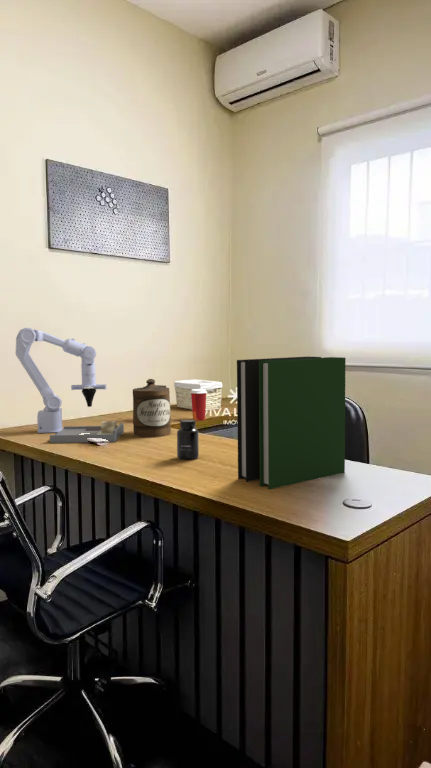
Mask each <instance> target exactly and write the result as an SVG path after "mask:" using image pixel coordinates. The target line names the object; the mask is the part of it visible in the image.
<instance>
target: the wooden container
mask: <svg viewBox="0 0 431 768" xmlns="http://www.w3.org/2000/svg"><path fill="white" fill-rule="evenodd" d="M155 383H156V380H155V379H154V378H148V379H146V385H145V386H142V387H137V388H135V387H134V388H132V423H133V435H134V436H136V437H142V438H156V437H157V438H158V437H164V436H168V435H170V434H171V433H172V431H171V430H172V429H171V428H172V425H171V419H172V418H171V417H172V415H171V397H170V388H169V387H167V386H166V387H157V386H156V385H157V384H155Z"/></svg>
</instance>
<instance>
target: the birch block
mask: <svg viewBox="0 0 431 768" xmlns="http://www.w3.org/2000/svg"><path fill="white" fill-rule="evenodd" d="M100 426H101V433H113V430H114V429H115V428H116V427H117V426H118V425H117V420H103V421H102V422H100Z"/></svg>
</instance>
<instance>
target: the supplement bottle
mask: <svg viewBox="0 0 431 768" xmlns="http://www.w3.org/2000/svg"><path fill="white" fill-rule="evenodd" d="M179 422H180V423H179V427H180V428H178V430H177V432H176V457H177V458H178V459H179V460H183V461H191V460H197V459H198V458H199V447H200V446H199V438H200V437H199V435H200V434H199V430H198V429H197V428H196V425H197V424H196V421H195V420H193V419H181V420H180V421H179Z"/></svg>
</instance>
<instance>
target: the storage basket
mask: <svg viewBox="0 0 431 768" xmlns="http://www.w3.org/2000/svg"><path fill="white" fill-rule="evenodd" d="M173 387H174V390H175V391H174V392H175V401H176V407H178V408H180V409H184V410H185V409H188V410H191V411H192V399H191V393H190V392H191V390H193V389H206V392H207V393H206V412H207V411H213V410H219V409H221V407H222V406H221V405H222V397H223V395H222V390H223V389H222V388H223V382H221V381H214V380H205V379H195V378H194V379H186V380H184V379H183V380H175V381H174V383H173Z"/></svg>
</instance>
